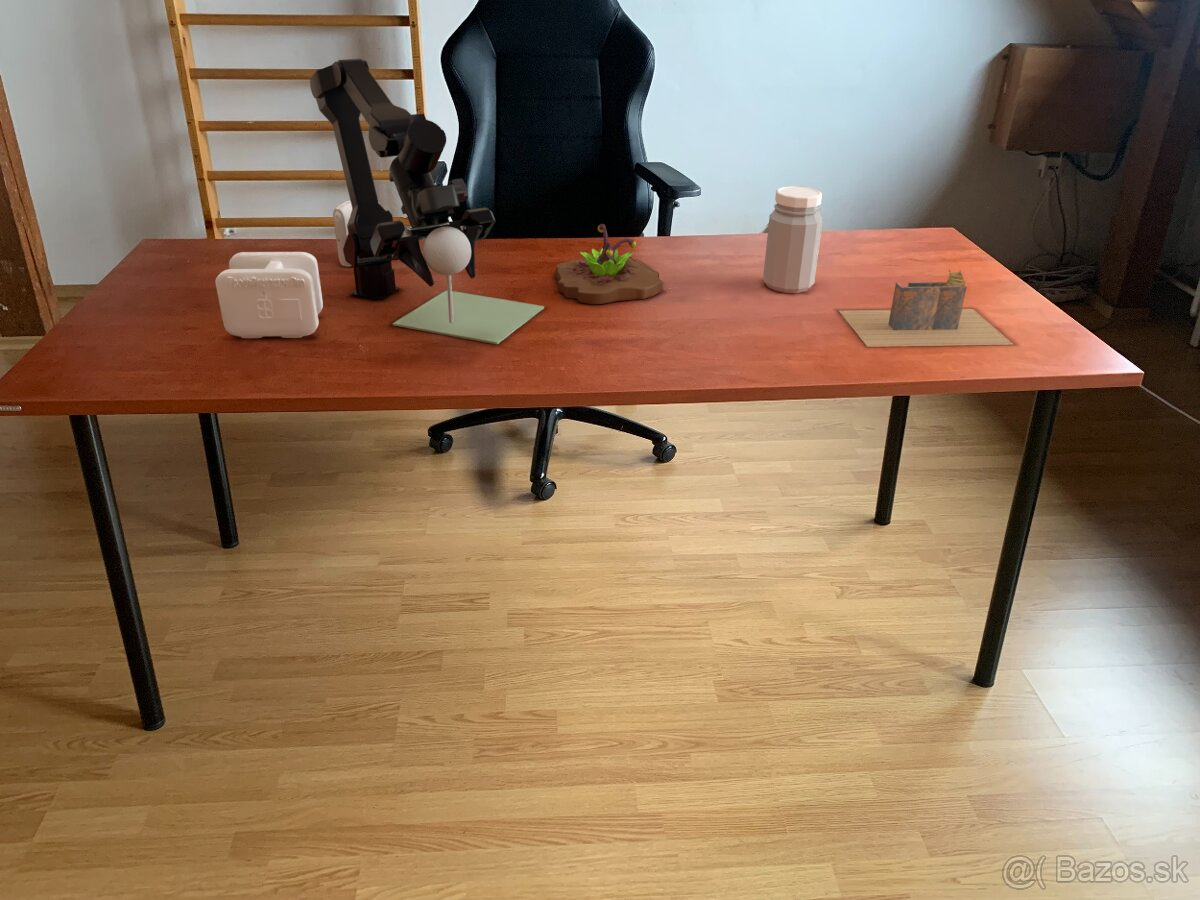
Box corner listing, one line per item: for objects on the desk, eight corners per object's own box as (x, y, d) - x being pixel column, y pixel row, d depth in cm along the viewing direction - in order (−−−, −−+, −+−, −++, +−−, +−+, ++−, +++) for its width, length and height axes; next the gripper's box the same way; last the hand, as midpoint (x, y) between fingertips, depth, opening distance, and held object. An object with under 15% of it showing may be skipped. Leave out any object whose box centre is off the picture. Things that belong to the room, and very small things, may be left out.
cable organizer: (330, 316, 163) (321, 251, 157) (317, 340, 153) (308, 272, 148) (241, 317, 162) (229, 251, 156) (224, 341, 153) (210, 272, 147)
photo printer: (349, 268, 185) (341, 206, 178) (335, 264, 187) (327, 202, 181) (390, 256, 192) (384, 195, 186) (376, 252, 194) (370, 192, 188)
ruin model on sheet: (972, 308, 171) (984, 256, 166) (1013, 344, 157) (1027, 288, 152) (838, 310, 169) (846, 258, 164) (867, 346, 155) (876, 290, 150)
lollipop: (481, 316, 148) (477, 223, 141) (463, 333, 142) (458, 237, 135) (439, 311, 150) (433, 218, 142) (420, 327, 144) (413, 231, 136)
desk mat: (392, 325, 160) (392, 323, 159) (446, 292, 174) (446, 289, 174) (497, 344, 153) (497, 342, 153) (544, 308, 168) (544, 306, 168)
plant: (637, 264, 190) (639, 209, 184) (674, 296, 174) (677, 237, 168) (541, 273, 184) (540, 216, 179) (570, 307, 168) (570, 246, 162)
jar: (810, 297, 175) (822, 200, 166) (757, 290, 177) (767, 195, 168) (816, 280, 183) (829, 187, 174) (766, 274, 185) (776, 182, 176)
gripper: (369, 168, 133) (407, 266, 130) (487, 154, 142) (524, 245, 139) (355, 209, 142) (390, 301, 140) (466, 194, 151) (501, 280, 149)
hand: (452, 281), depth 142 cm, fingers closed on lollipop, 6 cm apart
